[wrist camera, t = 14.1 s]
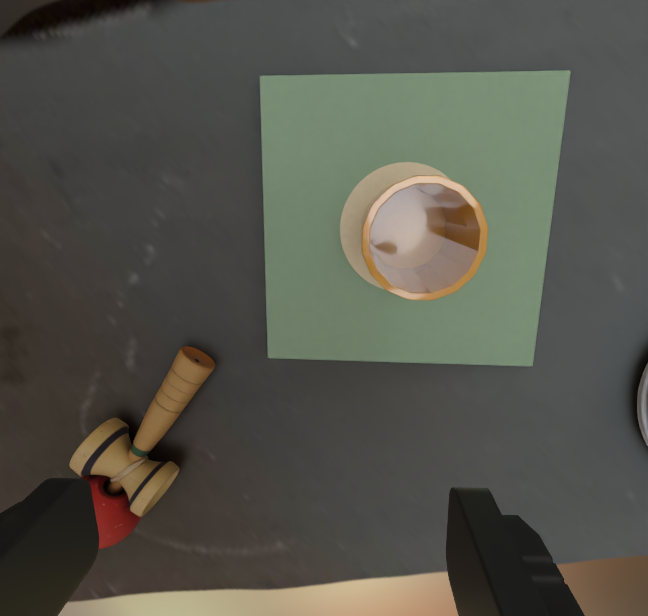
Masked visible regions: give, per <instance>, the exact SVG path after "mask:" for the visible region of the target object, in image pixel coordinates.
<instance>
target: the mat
mask: <svg viewBox="0 0 648 616" xmlns="http://www.w3.org/2000/svg"><path fill="white" fill-rule="evenodd" d="M570 72H571V71H516V72H458V73H399V74H341V75H283V76H260V106H261V140H262V175H263V210H264V244H265V279H266V314H267V348H268V358H280V359H312V360H344V361H376V362H408V363H440V364H472V365H504V366H533V359H534V351H535V343H536V335H537V328H538V320H539V312H540V304H541V297H542V289H543V281H544V273H545V266H546V258H547V250H548V242H549V235H550V227H551V219H552V211H553V204H554V196H555V188H556V180H557V173H558V165H559V157H560V149H561V142H562V134H563V126H564V118H565V111H566V103H567V95H568V87H569V80H570ZM416 175H440V176H443V177H445V178H448V179H450V180H452V181H455V182H457V183H459V184H461V185H463V186H465V187H466V188H467V190H468V191H469V192H470V193H471V194H472V195H473V196H474V197H475V198H476V199H477V201H478V202H479V203H480V205H481V206H482V210H483V213H484V216H485V219H486V222H487V225H488V238H487V249H486V254H485V256H484V258H483V260H482V262H481V264H480V266H479V268H478V270H477V272H476V273H475V275H474V276H473V277H472V278H471V279H470V280H469V281H468V282H466V283H465V284H464V285H463V286H462V287H461V288H460V289H458V290H457V291H456V292H454V293H452V294H449V295H446V296H443V297H441V298H438V299H435V300H432V301H429V300H407V299H405V298H402V297H400V296H398V295H395V294H393V293H391V292H388V291H387V290H385V289H384V288H383V287H382V286H381V285H380V283H379V282H378V281H377V280H376V279H375V278H374V277H373V276H372V275H371V274H370V272H369V269H368V267H367V264H366V262H365V259H364V257H363V254H362V250H361V219H362V217H363V214H364V212H365V210H366V207H367V205H368V204H369V202H370V201H371V200H372V199H373V198H374V197H375V196H376V195H377V194H378V193H379V192H380V191H381V190H383V189H385V188H387V187H389V186H391V185H393V184H396V183H398V182H400V181H403V180H405V179H408V178H410V177H412V176H416Z"/></svg>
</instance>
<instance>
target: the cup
mask: <svg viewBox="0 0 648 616" xmlns="http://www.w3.org/2000/svg"><path fill="white" fill-rule="evenodd" d="M487 238H488V225H487V222H486V219H485V216H484V213H483V210H482V206H481V205H480V203H479V202H478V201H477V199H476V198H475V197H474V196H473V195H472V194H471V193H470V192H469V191H468V190H467V188H466V187H465V186H463V185H461V184H459V183H457V182H455V181H452V180H450V179H448V178H445V177H443V176H440V175H416V176H412V177H410V178H408V179H405V180H403V181H400V182H398V183H396V184H393V185H391V186H389V187H387V188H385V189H383V190H381V191H380V192H379V193H378V194H377V195H376V196H375V197H374V198H373V199H372V200H371V201H370V202H369V204H368V205H367V207H366V210H365V212H364V214H363V217H362V219H361V250H362V254H363V257H364V259H365V262H366V264H367V267H368V269H369V272H370V274H371V275H372V276H373V277H374V278H375V279H376V280H377V281H378V282H379V283H380V285H381V286H382V287H383V288H384V289H385V290H387V291H388V292H391V293H393V294H395V295H398V296H400V297H402V298H405V299H407V300H429V301H432V300H435V299H438V298H441V297H443V296H446V295H449V294H452V293H454V292H456V291H457V290H458V289H460V288H461V287H462V286H463V285H464V284H465V283H466V282H468V281H469V280H470V279H471V278H472V277H473V276H474V275H475V273H476V272H477V270H478V268H479V266H480V264H481V262H482V260H483V258H484V256H485V254H486V249H487Z"/></svg>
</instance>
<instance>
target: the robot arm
mask: <svg viewBox="0 0 648 616" xmlns="http://www.w3.org/2000/svg"><path fill="white" fill-rule="evenodd" d="M98 548H99V531H98V526H97V520H96V514H95V508H94V503H93V497H92V491H91V487H90V484H89V482H88V481H87V480H86V479H73V478H50V479H47V480H45V481H44V482H43V483H42V484H40V485H39V486H38V487H37V488H36V489H35V490H34V491H33V492H32V493H31V494H30V495H29V496H27V497H26V498H25V499H24V500H23V501H22V502H19V503H17V504H15V505H14V506H12V507H10V508H9V509H7V510H5V511H4V512H2V513H0V616H58V614H59V613H60V611H61V610H62V609H63V607H64V605H65V604H66V603H67V601H68V600H69V599H70V597H71V596H72V594H73V593H74V591H75V590H76V589H77V587H78V586H79V584H80V583H81V581H82V580H83V579H84V577H85V576H86V574H87V573H88V571H89V570H90V568H91V567H92V565H93V563H94V561H95V558H96V555H97V552H98ZM446 560H447V569H448V576H449V581H450V585H451V588H452V592H453V596H454V600H455V603H456V608H457V611H458V615H459V616H585V615H584V614H583V612H582V610H581V608H580V606H579V605H578V603H577V601H576V600H575V598H574V596H573V594H572V593H571V591H570V589H569V587H568V585H567V584H565V583H564V578H563V576H562V575H561V573H560V571H559V569H558V568H557V566H556V564H555V563H553V560H552V557H551V555H550V553H549V552H548V550H547V548H546V546H545V545H544V543H543V541H542V539H541V537H540V536H539V534H537V533H536V532H535V531H534V530H533V529H532V528H531V527H530V526H529V525H528V524H527V523H525V522H524V521H523V520H522V519H521V518H520V517H519V516H518V515H501V512H500V510H499V508H498V506H497V504H496V502H495V500H494V498H493V496H492V494H491V492H490V490H489V489H487V488H451V490H450V494H449V508H448V524H447V540H446Z"/></svg>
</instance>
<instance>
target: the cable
mask: <svg viewBox="0 0 648 616" xmlns="http://www.w3.org/2000/svg"><path fill="white" fill-rule="evenodd" d="M637 414H638V421H639V426H640V429H641V433H642V435H643V438H644V440H645V442H646V444H647V446H648V363H647V365H646V367H645V369H644V371H643V374H642V377H641V381H640V384H639V388H638V394H637Z"/></svg>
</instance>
